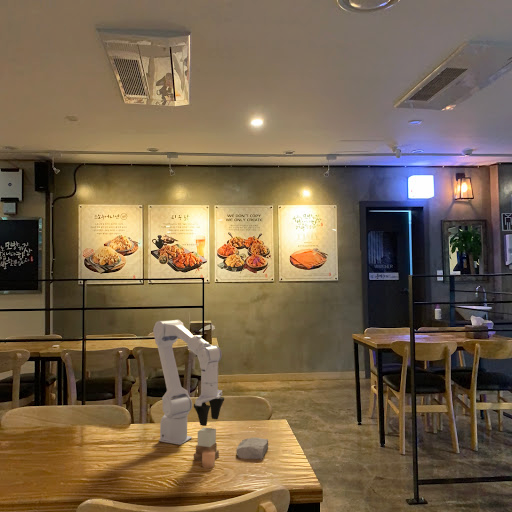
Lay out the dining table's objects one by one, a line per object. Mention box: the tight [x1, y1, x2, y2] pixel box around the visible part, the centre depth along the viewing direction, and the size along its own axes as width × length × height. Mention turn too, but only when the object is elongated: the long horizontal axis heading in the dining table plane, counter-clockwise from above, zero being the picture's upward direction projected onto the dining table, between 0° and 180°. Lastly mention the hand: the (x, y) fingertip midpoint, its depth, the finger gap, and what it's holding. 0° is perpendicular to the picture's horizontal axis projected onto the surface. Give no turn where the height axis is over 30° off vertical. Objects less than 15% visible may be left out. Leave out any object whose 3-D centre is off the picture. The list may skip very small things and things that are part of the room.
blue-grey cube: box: [196, 427, 217, 447], centre depth 148 cm, size 4×4×4 cm
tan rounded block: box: [201, 450, 216, 469], centre depth 142 cm, size 4×4×4 cm
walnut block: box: [195, 442, 218, 454], centre depth 148 cm, size 5×5×2 cm
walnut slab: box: [193, 449, 220, 462], centre depth 148 cm, size 6×6×2 cm
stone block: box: [236, 437, 269, 460], centre depth 153 cm, size 12×5×10 cm
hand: (209, 422), depth 153 cm, fingers open, 7 cm apart
